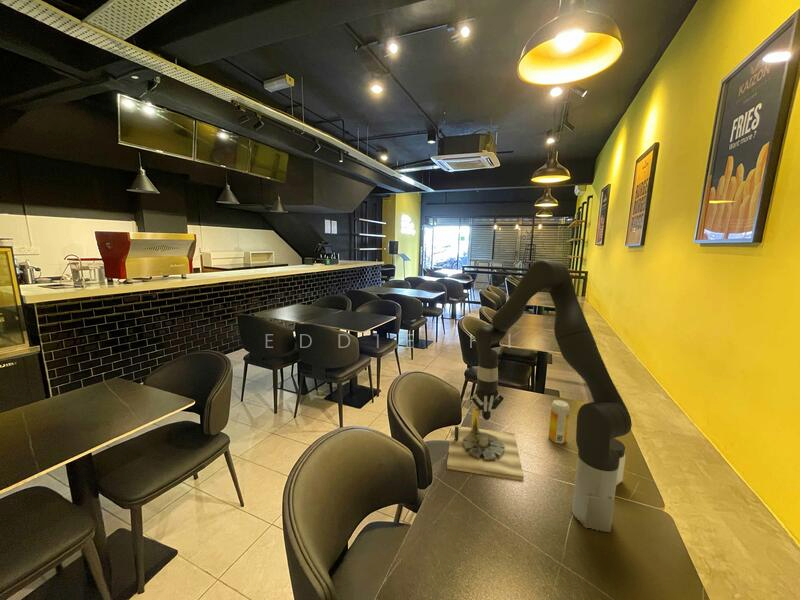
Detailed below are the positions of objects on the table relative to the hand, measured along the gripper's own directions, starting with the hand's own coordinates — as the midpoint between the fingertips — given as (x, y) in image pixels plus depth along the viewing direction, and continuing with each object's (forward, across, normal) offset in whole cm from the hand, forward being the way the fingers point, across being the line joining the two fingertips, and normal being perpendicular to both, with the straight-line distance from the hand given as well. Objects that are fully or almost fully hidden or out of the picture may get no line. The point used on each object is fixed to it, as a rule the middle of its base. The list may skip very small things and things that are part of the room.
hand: (486, 418), depth 123 cm
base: (+7, -5, -10) cm, 13 cm away
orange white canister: (+8, +26, -5) cm, 28 cm away
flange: (+5, -5, -8) cm, 10 cm away
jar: (+8, +30, -26) cm, 40 cm away
